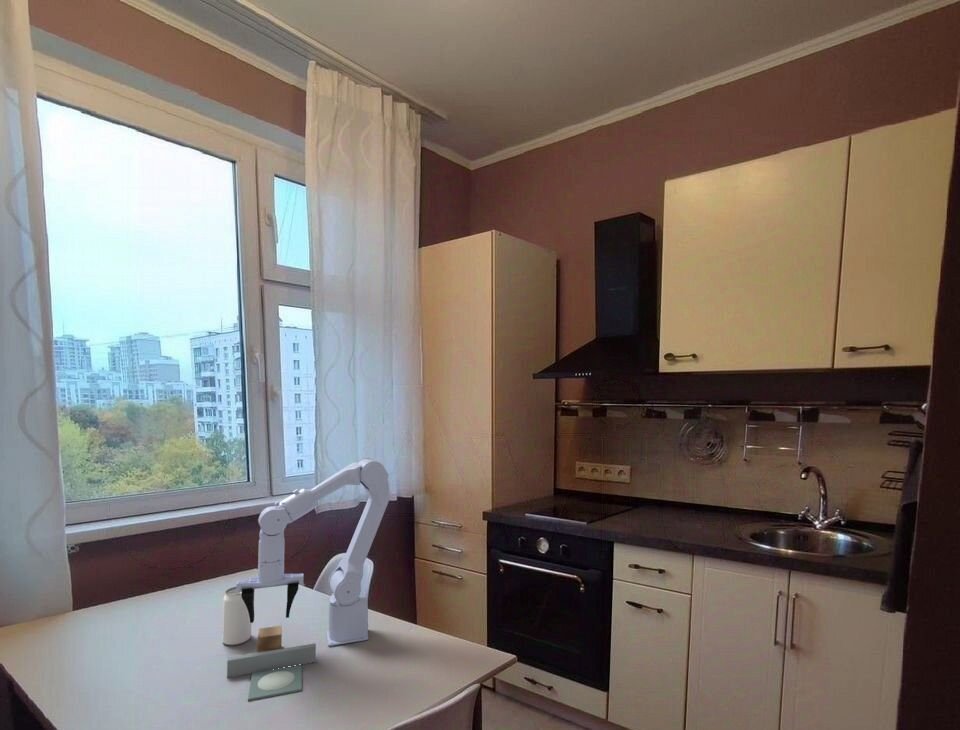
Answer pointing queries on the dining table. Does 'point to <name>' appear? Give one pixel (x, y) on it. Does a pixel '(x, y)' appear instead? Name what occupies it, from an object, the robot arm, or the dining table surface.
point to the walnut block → (269, 639)
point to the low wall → (270, 660)
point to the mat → (275, 682)
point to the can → (235, 619)
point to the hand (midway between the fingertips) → (270, 618)
